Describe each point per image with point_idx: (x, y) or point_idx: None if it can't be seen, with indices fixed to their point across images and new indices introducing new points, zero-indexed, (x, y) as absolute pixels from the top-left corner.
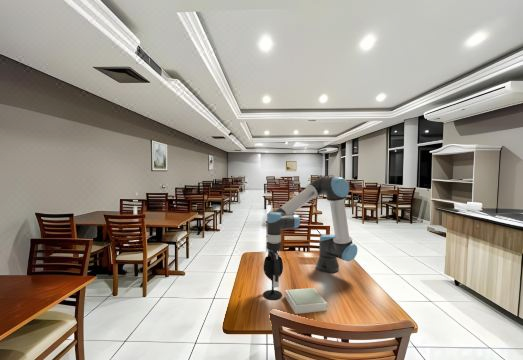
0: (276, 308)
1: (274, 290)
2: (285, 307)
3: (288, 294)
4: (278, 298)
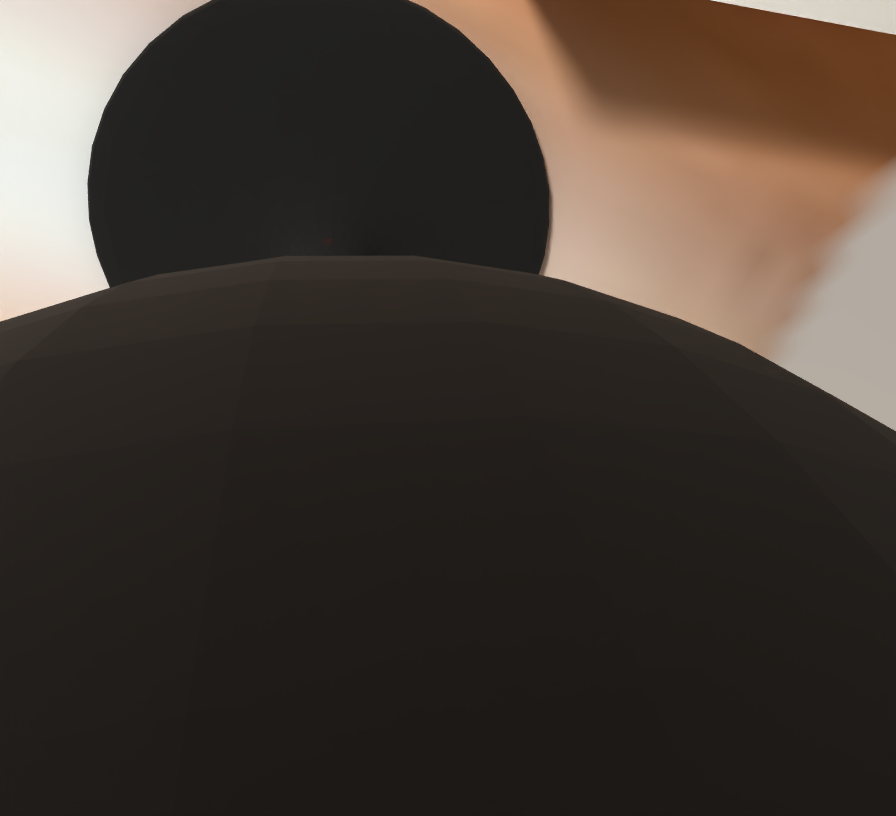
0: (790, 326)
1: (150, 131)
2: (864, 162)
3: (827, 2)
4: (547, 182)
